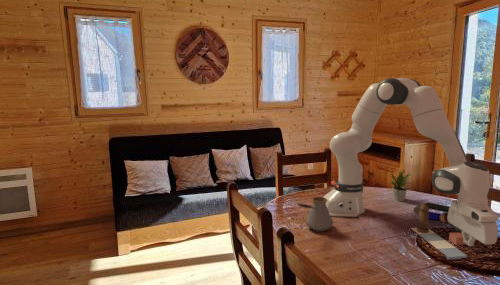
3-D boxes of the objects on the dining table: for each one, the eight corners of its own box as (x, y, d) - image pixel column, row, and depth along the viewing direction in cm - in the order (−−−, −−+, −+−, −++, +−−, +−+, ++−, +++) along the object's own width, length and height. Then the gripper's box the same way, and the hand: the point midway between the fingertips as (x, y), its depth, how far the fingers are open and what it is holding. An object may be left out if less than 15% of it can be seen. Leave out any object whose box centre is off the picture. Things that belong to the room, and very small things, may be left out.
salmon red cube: (455, 247, 124) (456, 237, 124) (448, 242, 128) (449, 233, 128) (466, 247, 125) (466, 237, 124) (458, 242, 129) (459, 232, 128)
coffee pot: (315, 220, 152) (315, 188, 150) (337, 227, 144) (338, 194, 142) (286, 235, 137) (286, 201, 135) (309, 244, 130) (309, 207, 127)
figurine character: (413, 220, 153) (449, 227, 141) (412, 204, 152) (448, 209, 141) (419, 216, 157) (455, 222, 146) (418, 200, 157) (454, 205, 145)
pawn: (420, 233, 134) (422, 207, 133) (414, 228, 139) (416, 203, 137) (431, 232, 135) (433, 206, 133) (424, 228, 139) (426, 202, 137)
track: (447, 259, 116) (448, 257, 116) (410, 230, 140) (410, 228, 139) (467, 258, 116) (467, 255, 116) (426, 229, 140) (426, 227, 140)
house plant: (421, 205, 168) (423, 173, 165) (393, 205, 168) (394, 174, 165) (408, 195, 182) (409, 166, 179) (382, 196, 182) (383, 167, 179)
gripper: (444, 198, 128) (441, 232, 130) (484, 219, 108) (480, 259, 110) (460, 197, 129) (457, 231, 131) (503, 218, 108) (499, 258, 111)
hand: (468, 244), depth 120 cm, fingers closed
